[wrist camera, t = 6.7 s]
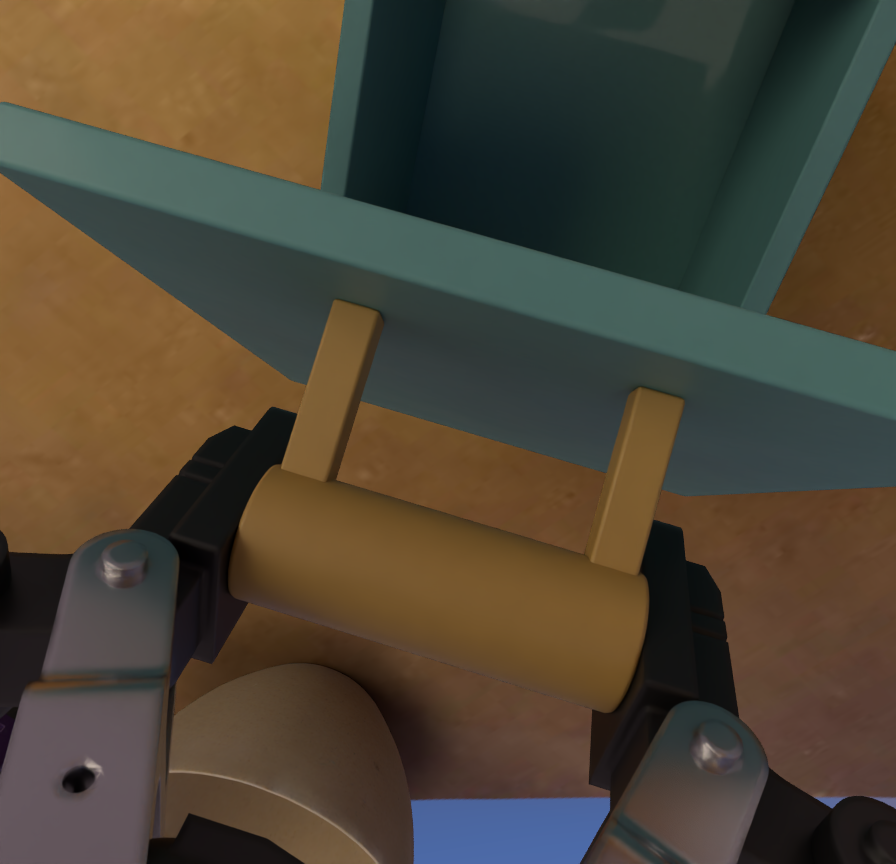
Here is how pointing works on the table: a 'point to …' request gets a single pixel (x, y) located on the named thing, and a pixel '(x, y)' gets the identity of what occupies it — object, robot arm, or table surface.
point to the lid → (466, 400)
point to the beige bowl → (294, 767)
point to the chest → (609, 126)
